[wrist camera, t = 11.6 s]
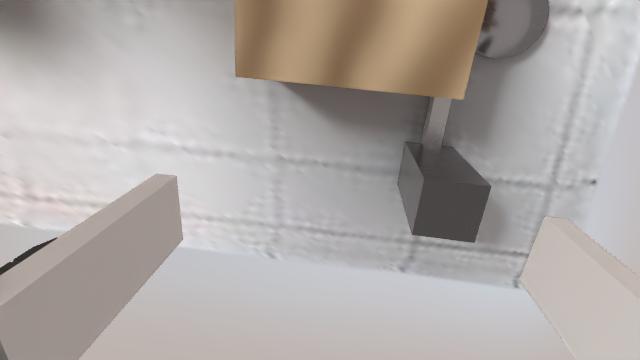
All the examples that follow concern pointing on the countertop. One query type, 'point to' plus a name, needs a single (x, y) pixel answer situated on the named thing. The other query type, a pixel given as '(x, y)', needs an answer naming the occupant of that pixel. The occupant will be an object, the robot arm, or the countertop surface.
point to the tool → (440, 183)
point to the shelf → (361, 43)
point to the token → (511, 26)
